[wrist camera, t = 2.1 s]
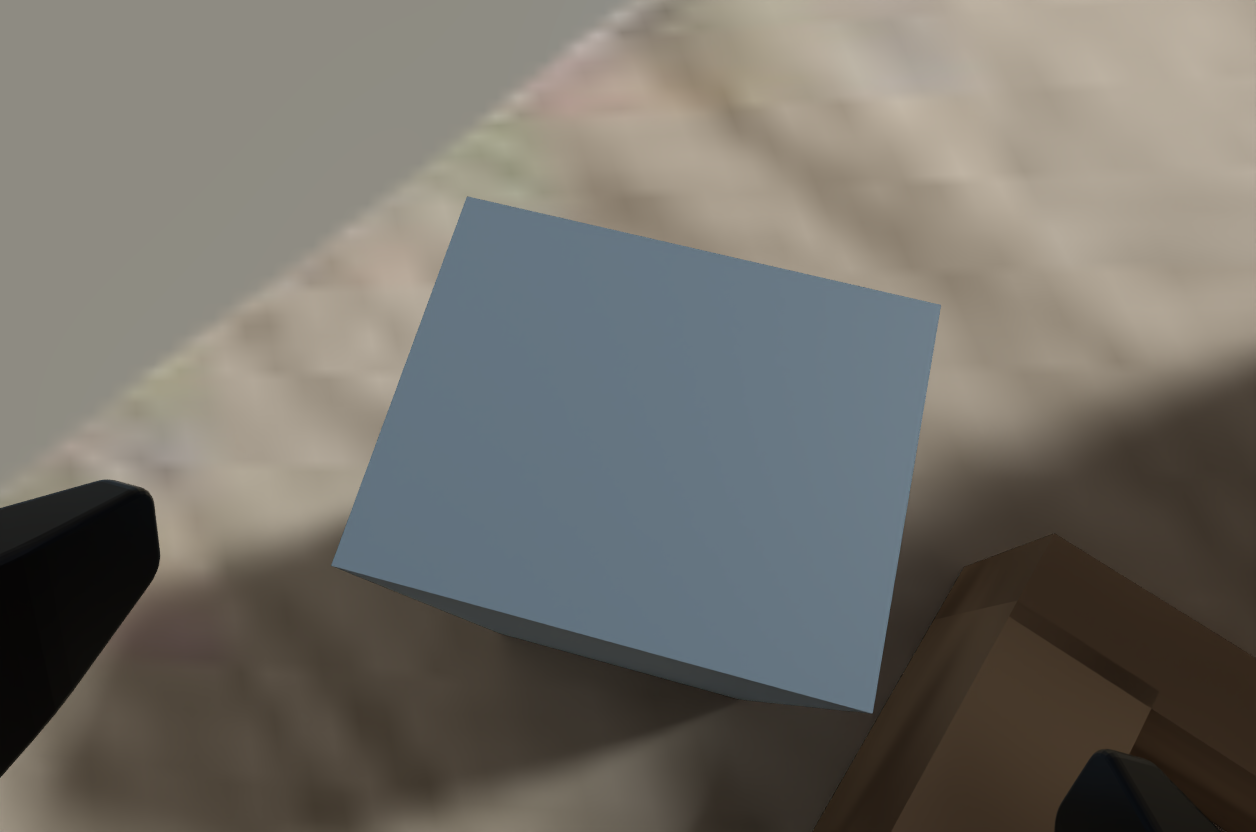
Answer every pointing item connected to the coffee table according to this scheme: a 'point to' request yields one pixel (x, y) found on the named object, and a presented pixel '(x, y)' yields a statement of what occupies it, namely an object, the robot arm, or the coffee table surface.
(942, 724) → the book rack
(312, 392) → the coffee table surface
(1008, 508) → the coffee table surface
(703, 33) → the coffee table surface
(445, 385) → the rectangular block
